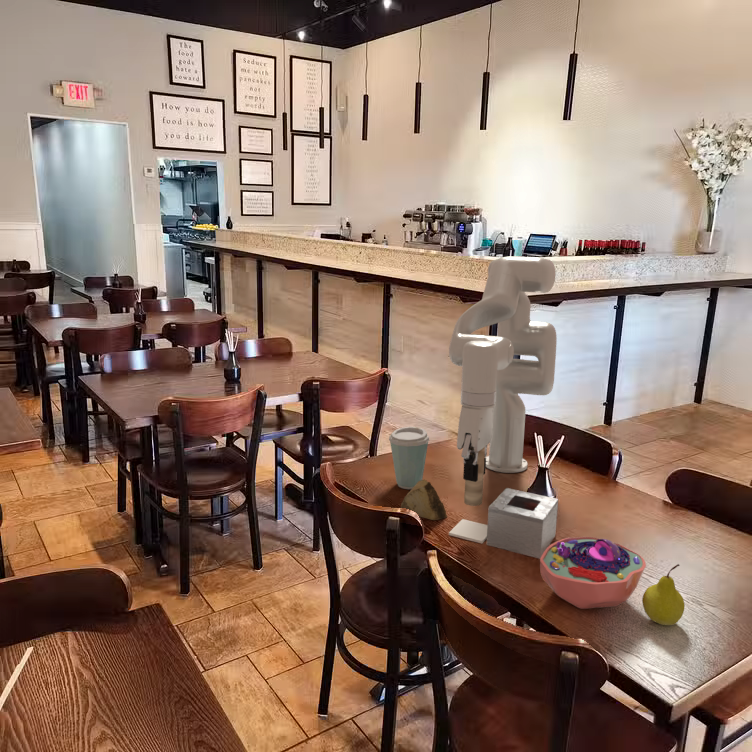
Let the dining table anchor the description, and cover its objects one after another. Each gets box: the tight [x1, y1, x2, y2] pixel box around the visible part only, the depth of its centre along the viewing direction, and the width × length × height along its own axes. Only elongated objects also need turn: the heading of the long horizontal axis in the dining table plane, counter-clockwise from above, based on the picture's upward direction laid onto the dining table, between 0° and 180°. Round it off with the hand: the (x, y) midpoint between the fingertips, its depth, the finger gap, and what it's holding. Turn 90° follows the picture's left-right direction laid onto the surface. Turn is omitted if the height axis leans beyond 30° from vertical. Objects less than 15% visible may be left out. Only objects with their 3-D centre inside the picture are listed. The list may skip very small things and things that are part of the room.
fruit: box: [641, 563, 685, 626], centre depth 117 cm, size 7×7×12 cm
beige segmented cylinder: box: [463, 447, 485, 507], centre depth 147 cm, size 4×4×16 cm
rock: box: [400, 479, 448, 521], centre depth 160 cm, size 11×9×10 cm
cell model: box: [539, 536, 647, 610], centre depth 124 cm, size 17×20×11 cm
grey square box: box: [486, 487, 559, 560], centre depth 146 cm, size 12×12×9 cm
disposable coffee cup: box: [388, 426, 430, 490], centre depth 175 cm, size 11×11×15 cm
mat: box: [448, 518, 488, 545], centre depth 151 cm, size 8×8×1 cm
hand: (474, 476), depth 147 cm, fingers closed on beige segmented cylinder, 4 cm apart
